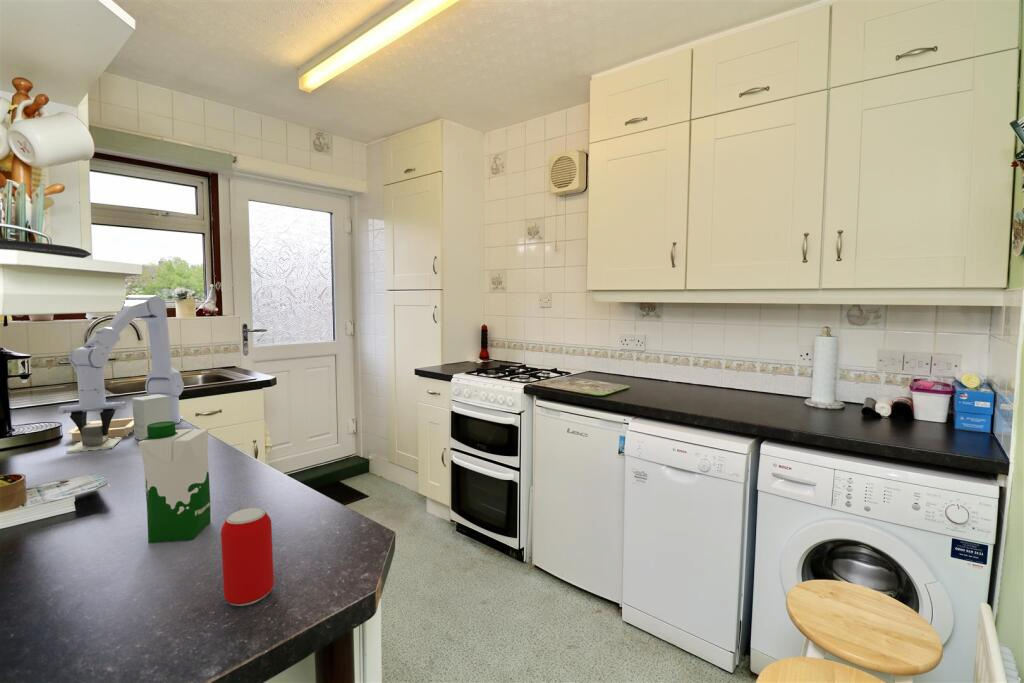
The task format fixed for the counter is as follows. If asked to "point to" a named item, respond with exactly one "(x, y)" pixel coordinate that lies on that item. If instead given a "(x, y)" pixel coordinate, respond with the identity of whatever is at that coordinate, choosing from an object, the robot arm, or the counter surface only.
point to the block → (93, 434)
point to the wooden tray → (115, 429)
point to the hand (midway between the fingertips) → (95, 436)
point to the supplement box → (149, 412)
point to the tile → (106, 444)
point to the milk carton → (176, 482)
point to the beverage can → (247, 556)
